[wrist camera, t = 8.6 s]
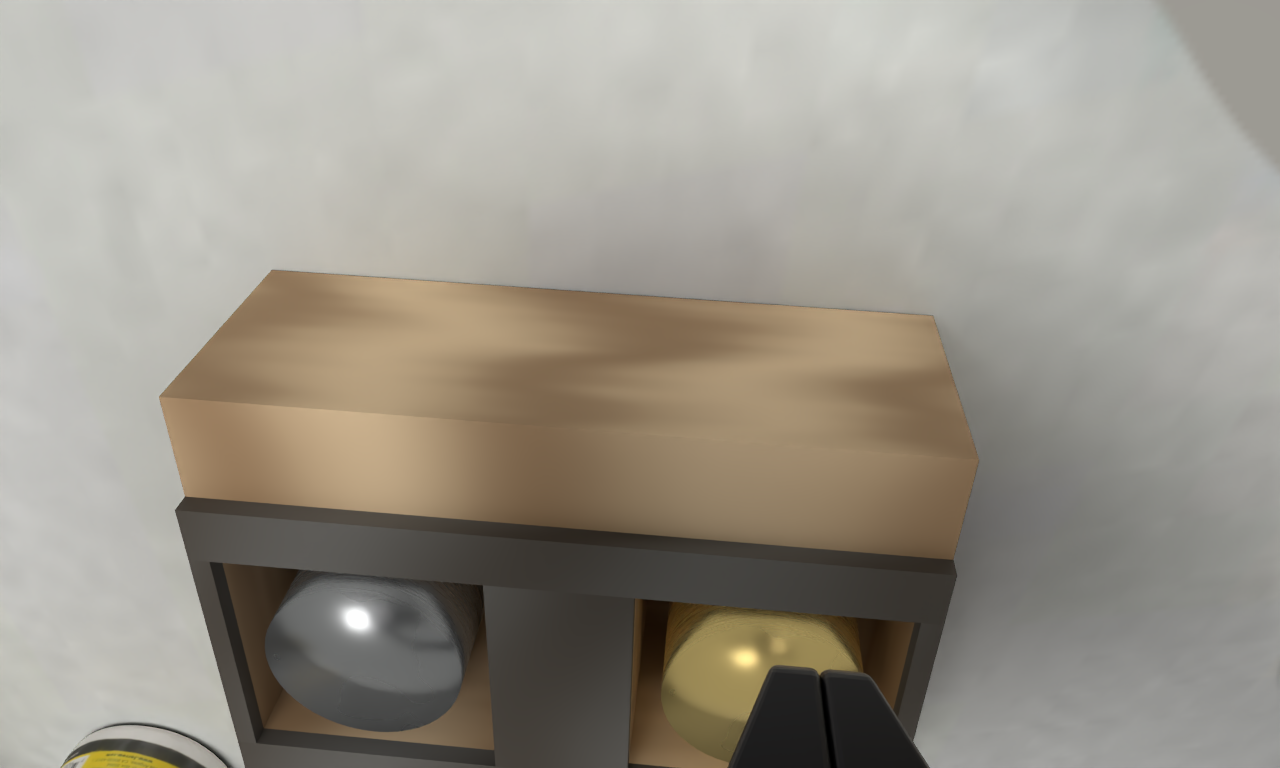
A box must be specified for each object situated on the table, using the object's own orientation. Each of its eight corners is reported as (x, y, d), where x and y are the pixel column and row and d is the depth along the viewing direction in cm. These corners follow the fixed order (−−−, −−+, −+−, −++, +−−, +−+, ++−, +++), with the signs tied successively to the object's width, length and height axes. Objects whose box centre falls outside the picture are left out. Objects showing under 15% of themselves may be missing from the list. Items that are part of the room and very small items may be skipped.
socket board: (932, 315, 21) (983, 474, 17) (850, 707, 28) (870, 899, 23) (271, 270, 22) (147, 409, 17) (341, 661, 28) (264, 837, 24)
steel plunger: (505, 452, 23) (454, 601, 19) (511, 581, 26) (467, 740, 22) (333, 438, 24) (248, 583, 20) (354, 567, 26) (281, 722, 22)
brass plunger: (857, 479, 23) (881, 638, 19) (834, 608, 25) (850, 775, 21) (680, 465, 23) (665, 619, 19) (671, 594, 25) (656, 758, 21)
